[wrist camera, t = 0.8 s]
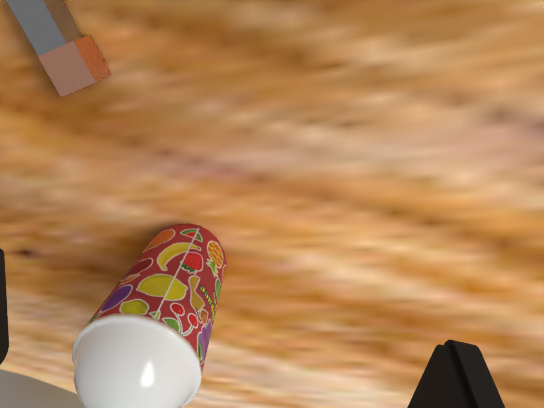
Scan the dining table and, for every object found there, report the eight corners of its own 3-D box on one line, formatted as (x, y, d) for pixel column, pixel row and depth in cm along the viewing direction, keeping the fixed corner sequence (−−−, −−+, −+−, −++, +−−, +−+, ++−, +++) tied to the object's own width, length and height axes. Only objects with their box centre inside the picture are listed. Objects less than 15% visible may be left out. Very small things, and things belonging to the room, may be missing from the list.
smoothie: (229, 298, 45) (162, 523, 27) (141, 276, 45) (17, 488, 27) (246, 222, 41) (181, 428, 23) (150, 198, 41) (11, 387, 23)
